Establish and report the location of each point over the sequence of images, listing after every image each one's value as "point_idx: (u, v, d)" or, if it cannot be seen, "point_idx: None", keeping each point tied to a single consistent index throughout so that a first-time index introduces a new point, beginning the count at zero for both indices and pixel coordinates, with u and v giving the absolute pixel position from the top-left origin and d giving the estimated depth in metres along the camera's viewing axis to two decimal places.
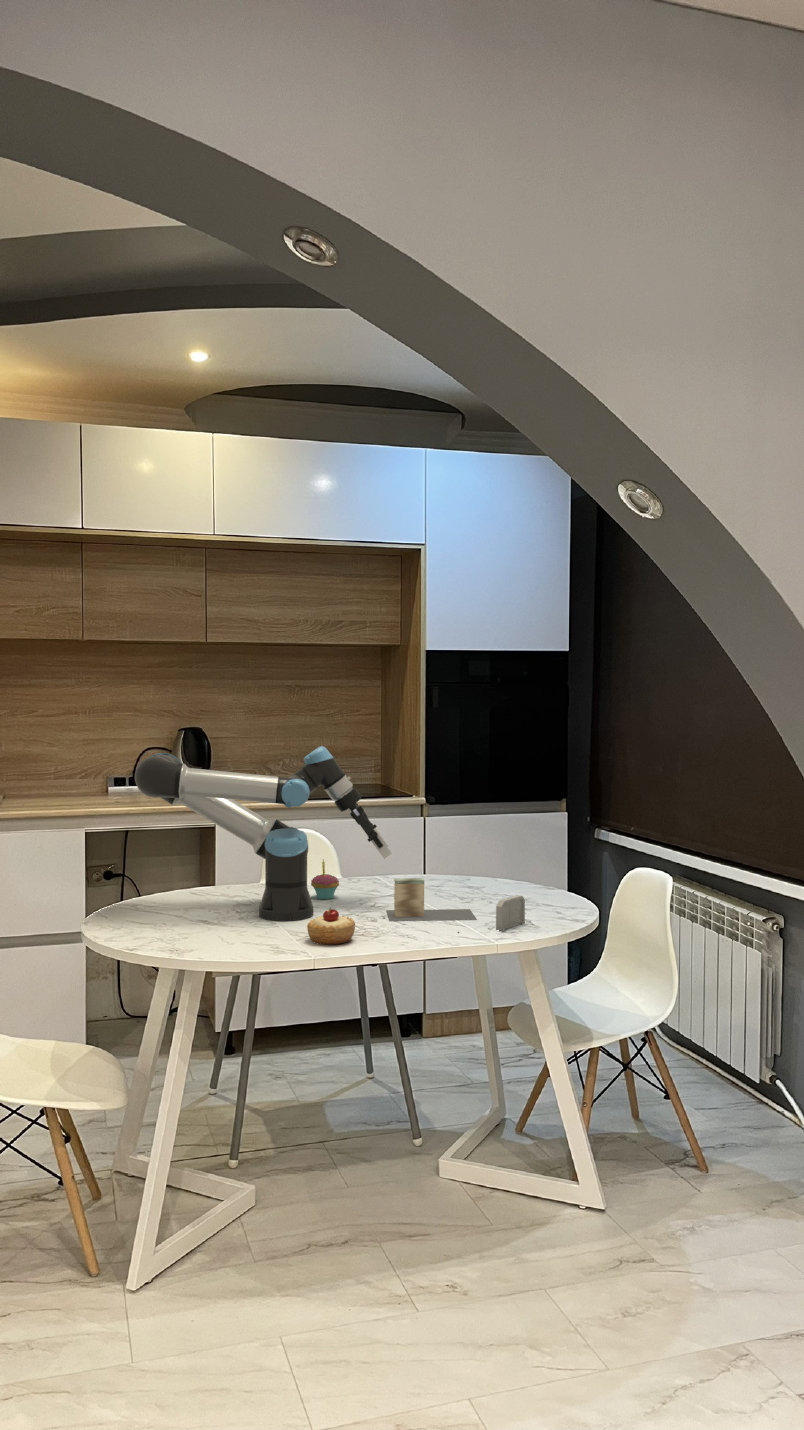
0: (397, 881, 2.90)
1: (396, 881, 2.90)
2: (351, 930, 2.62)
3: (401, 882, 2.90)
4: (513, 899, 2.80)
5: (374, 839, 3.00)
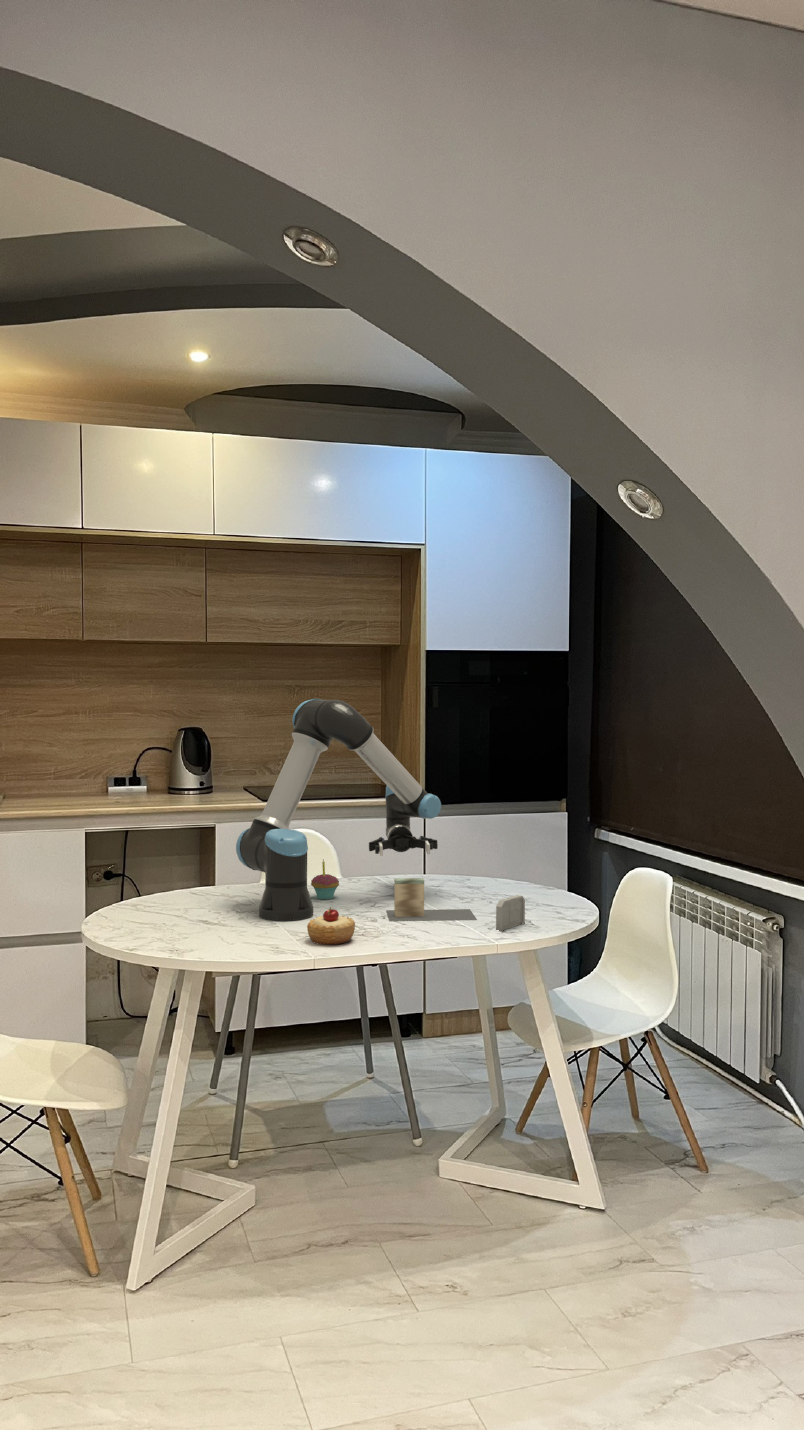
0: (397, 881, 2.90)
1: (396, 881, 2.90)
2: (351, 930, 2.62)
3: (401, 882, 2.90)
4: (513, 899, 2.80)
5: (432, 844, 3.09)
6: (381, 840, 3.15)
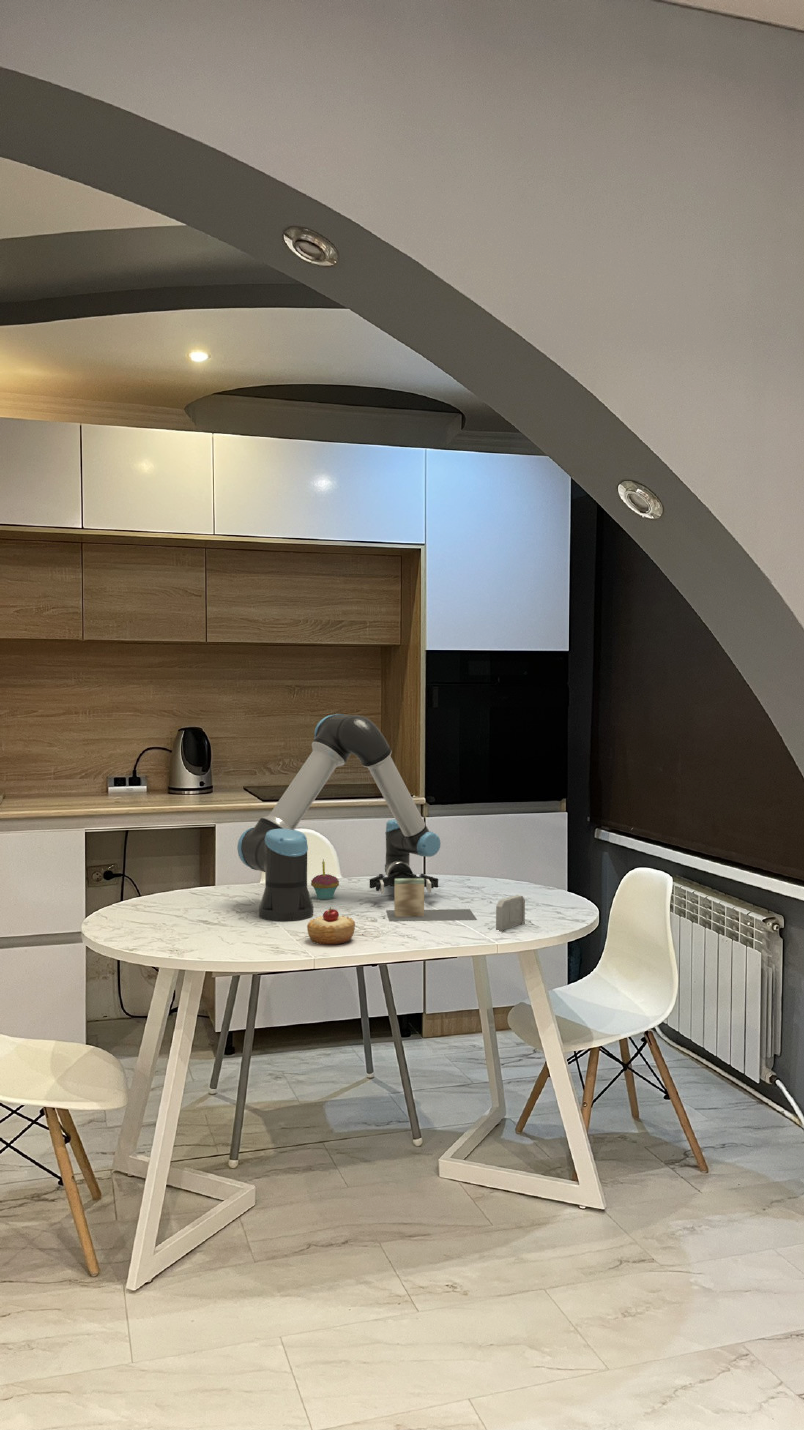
0: (397, 881, 2.90)
1: (396, 881, 2.90)
2: (351, 930, 2.62)
3: (401, 882, 2.90)
4: (513, 899, 2.80)
5: (433, 882, 3.08)
6: (381, 877, 3.14)
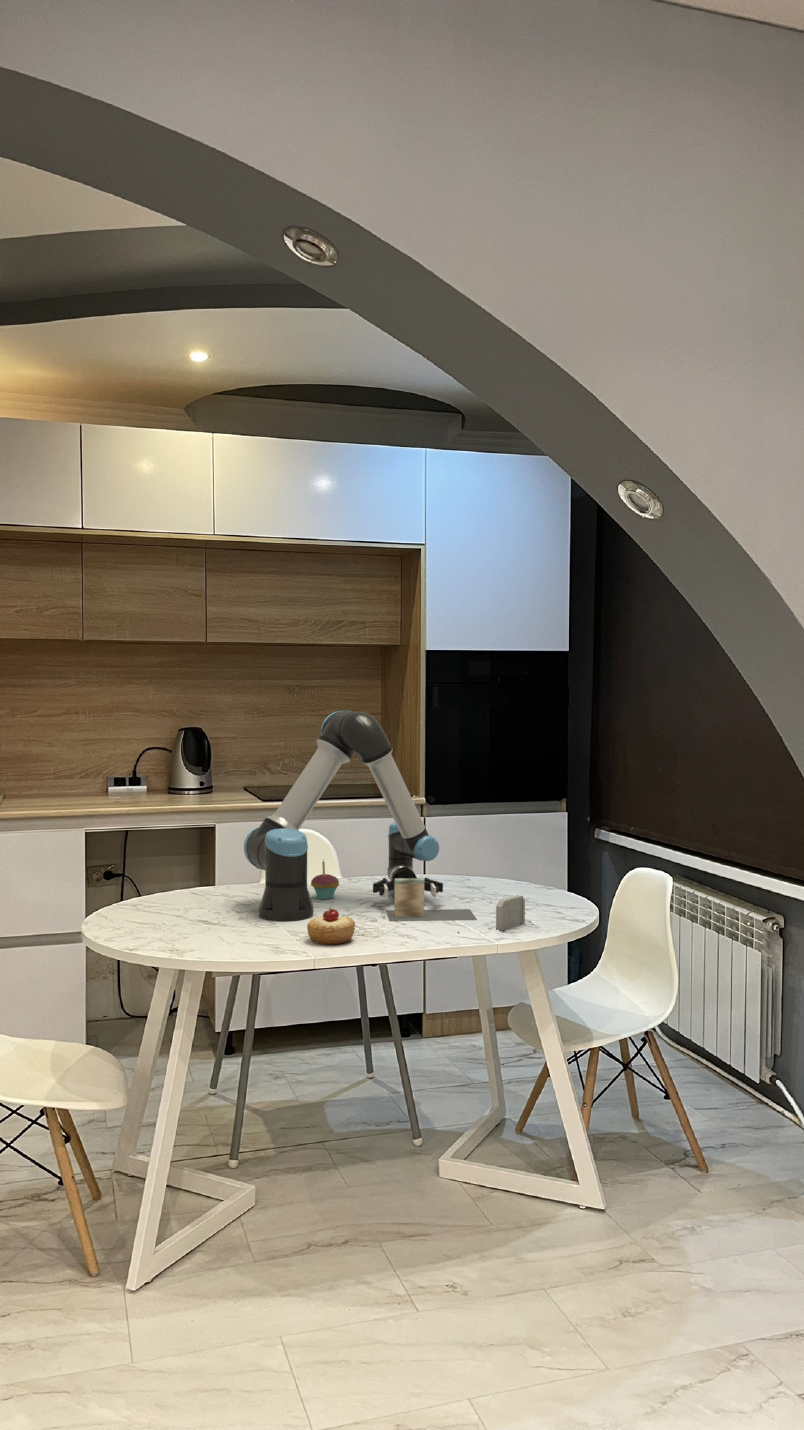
0: (397, 881, 2.90)
1: (396, 881, 2.90)
2: (351, 930, 2.62)
3: (401, 882, 2.90)
4: (513, 899, 2.80)
5: (437, 887, 3.02)
6: (385, 881, 3.08)
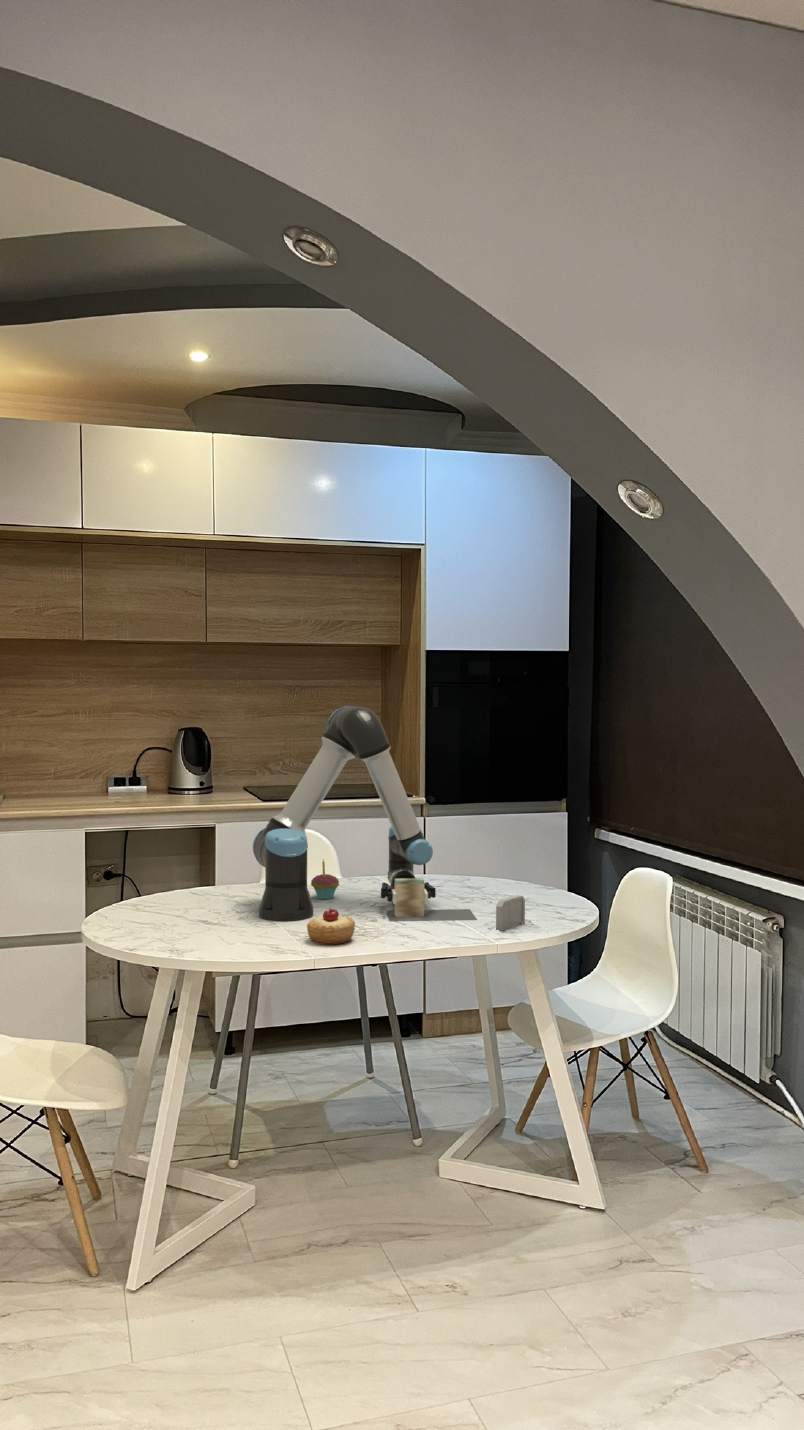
0: (397, 881, 2.90)
1: (396, 881, 2.90)
2: (351, 930, 2.62)
3: (401, 882, 2.90)
4: (513, 899, 2.80)
5: (430, 892, 2.94)
6: (387, 886, 3.00)
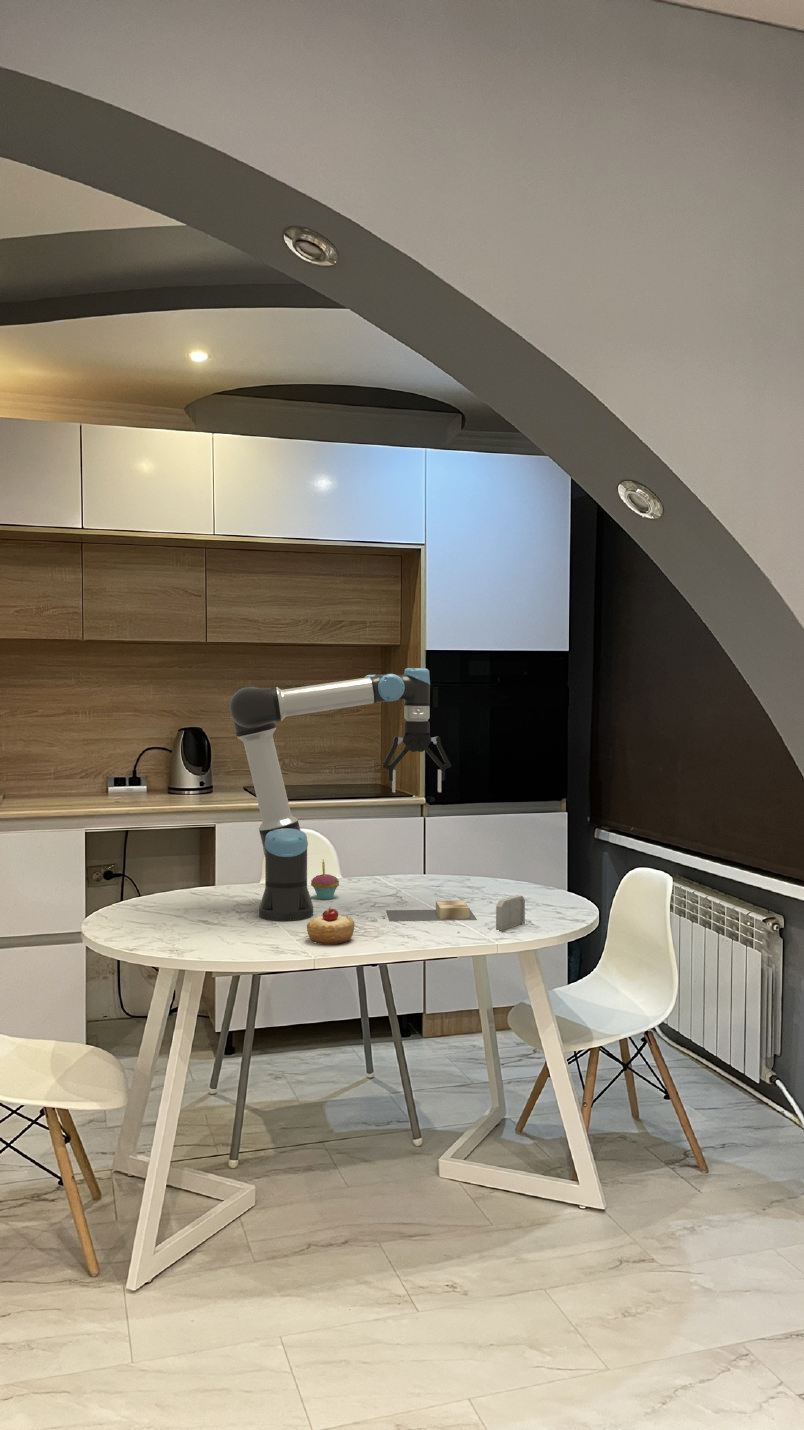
0: None
1: None
2: (350, 929, 2.62)
3: None
4: (513, 899, 2.80)
5: None
6: (437, 746, 3.13)
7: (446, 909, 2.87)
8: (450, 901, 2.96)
